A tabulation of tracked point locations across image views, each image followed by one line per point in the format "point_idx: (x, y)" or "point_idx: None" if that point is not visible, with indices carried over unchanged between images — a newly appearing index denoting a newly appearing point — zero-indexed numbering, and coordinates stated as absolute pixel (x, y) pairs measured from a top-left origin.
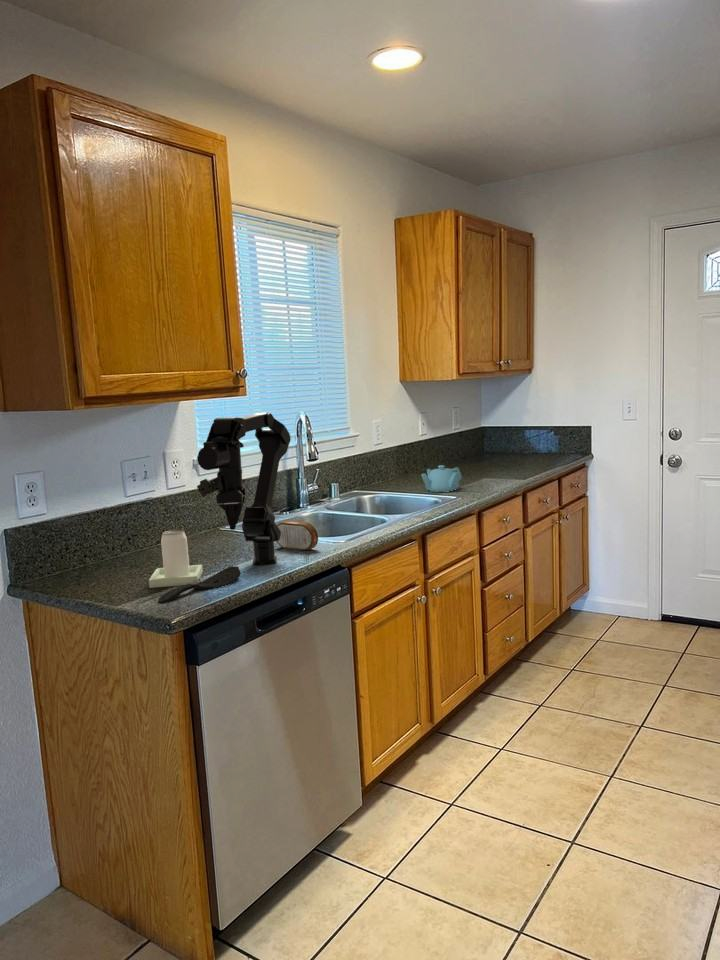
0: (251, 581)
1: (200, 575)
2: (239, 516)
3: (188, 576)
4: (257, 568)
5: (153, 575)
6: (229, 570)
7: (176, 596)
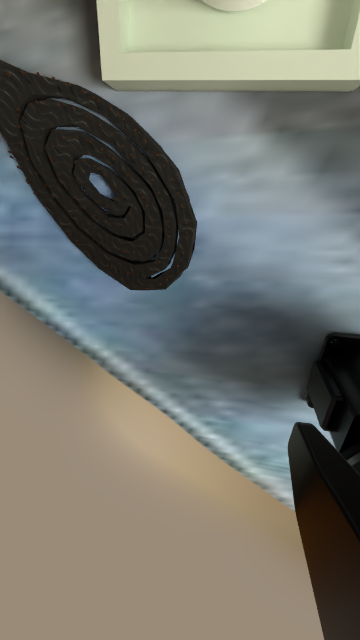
0: (104, 311)
1: (240, 89)
2: (307, 541)
3: (105, 17)
4: (272, 342)
5: None
6: (164, 248)
7: None
